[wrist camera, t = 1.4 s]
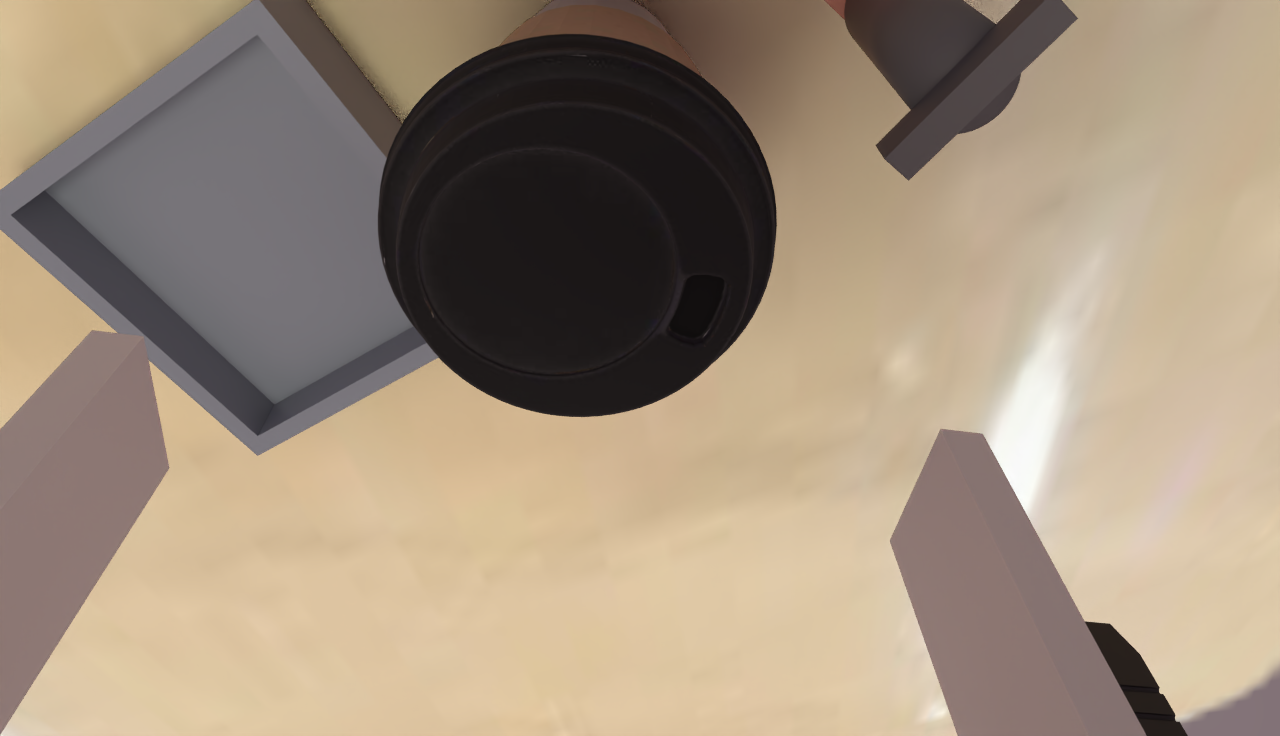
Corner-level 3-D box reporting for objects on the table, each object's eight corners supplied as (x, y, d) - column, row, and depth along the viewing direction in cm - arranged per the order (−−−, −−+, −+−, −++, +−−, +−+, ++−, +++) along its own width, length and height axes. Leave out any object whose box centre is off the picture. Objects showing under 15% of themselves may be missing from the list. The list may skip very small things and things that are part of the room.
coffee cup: (738, 172, 34) (804, 411, 21) (502, 214, 35) (437, 467, 22) (705, -97, 28) (767, 18, 16) (427, -39, 29) (285, 111, 17)
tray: (287, -23, 29) (257, -3, 27) (521, 278, 36) (514, 316, 34) (23, 174, 33) (-24, 208, 31) (279, 412, 40) (257, 455, 38)
